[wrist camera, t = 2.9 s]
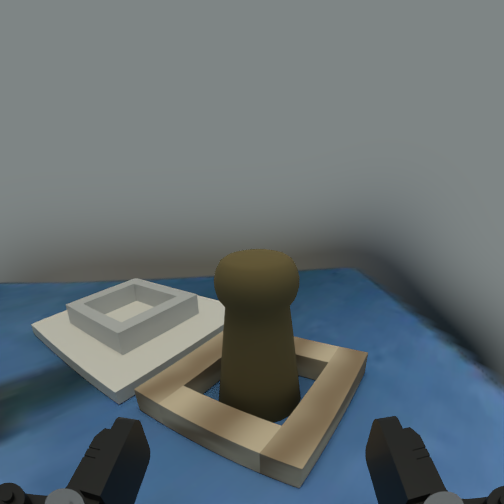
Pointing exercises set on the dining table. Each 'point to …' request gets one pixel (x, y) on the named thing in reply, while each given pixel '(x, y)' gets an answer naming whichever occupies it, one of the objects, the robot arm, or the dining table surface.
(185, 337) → the dock
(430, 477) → the robot arm
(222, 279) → the cork
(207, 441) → the tan square frame
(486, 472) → the dining table surface
